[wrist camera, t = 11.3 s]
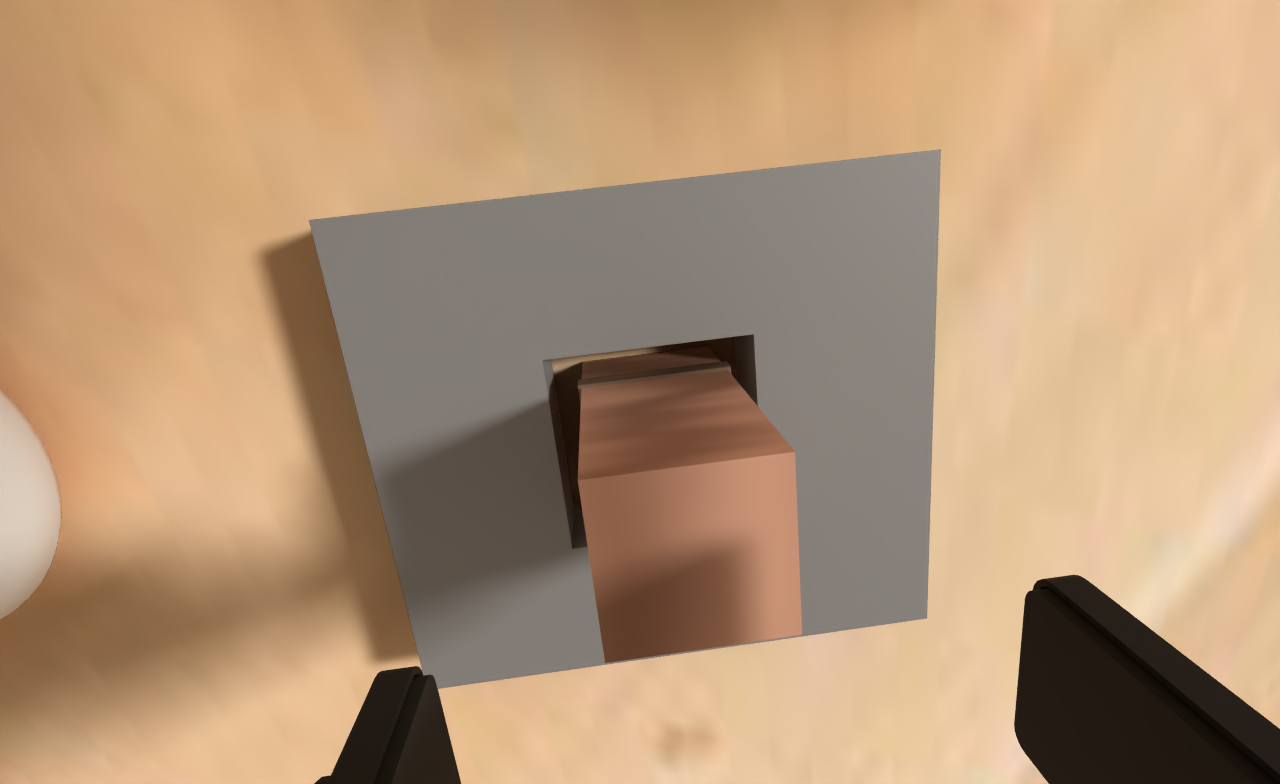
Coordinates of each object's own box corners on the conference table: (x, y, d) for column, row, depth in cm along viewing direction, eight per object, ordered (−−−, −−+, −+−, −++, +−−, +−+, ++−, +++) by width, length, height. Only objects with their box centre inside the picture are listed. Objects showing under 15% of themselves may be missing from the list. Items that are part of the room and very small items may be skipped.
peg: (710, 343, 23) (799, 446, 13) (720, 464, 24) (806, 637, 14) (579, 359, 22) (572, 476, 13) (596, 480, 24) (601, 667, 14)
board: (893, 156, 21) (940, 149, 18) (889, 572, 26) (926, 618, 23) (348, 217, 21) (308, 219, 18) (445, 634, 25) (427, 690, 22)
